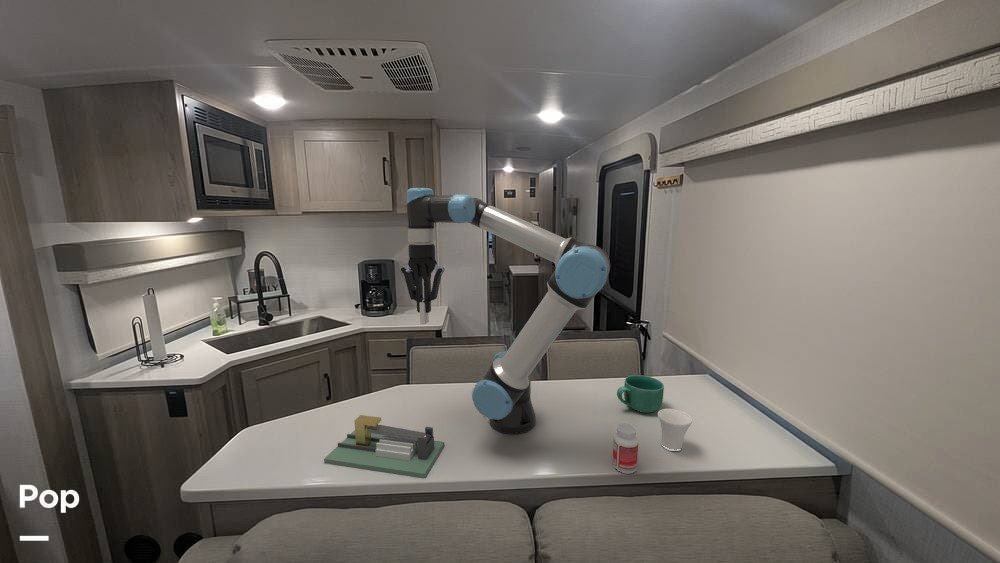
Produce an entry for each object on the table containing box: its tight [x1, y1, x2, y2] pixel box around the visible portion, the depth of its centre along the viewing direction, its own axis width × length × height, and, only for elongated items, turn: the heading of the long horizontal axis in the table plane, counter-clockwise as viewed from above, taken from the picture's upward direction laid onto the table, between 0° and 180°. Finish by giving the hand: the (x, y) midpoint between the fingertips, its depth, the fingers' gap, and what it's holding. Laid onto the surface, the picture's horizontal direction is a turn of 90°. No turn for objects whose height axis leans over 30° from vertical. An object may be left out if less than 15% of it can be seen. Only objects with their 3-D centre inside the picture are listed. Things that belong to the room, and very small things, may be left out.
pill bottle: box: [611, 423, 639, 475], centre depth 96 cm, size 6×6×11 cm
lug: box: [354, 414, 382, 446], centre depth 104 cm, size 6×3×8 cm, turn 78°
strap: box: [367, 424, 431, 443], centre depth 102 cm, size 18×3×2 cm, turn 78°
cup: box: [657, 408, 693, 450], centre depth 105 cm, size 9×9×10 cm
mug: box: [616, 374, 665, 413], centre depth 127 cm, size 17×13×10 cm
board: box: [323, 426, 445, 479], centre depth 102 cm, size 29×14×7 cm, turn 78°
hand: (424, 322), depth 109 cm, fingers closed
